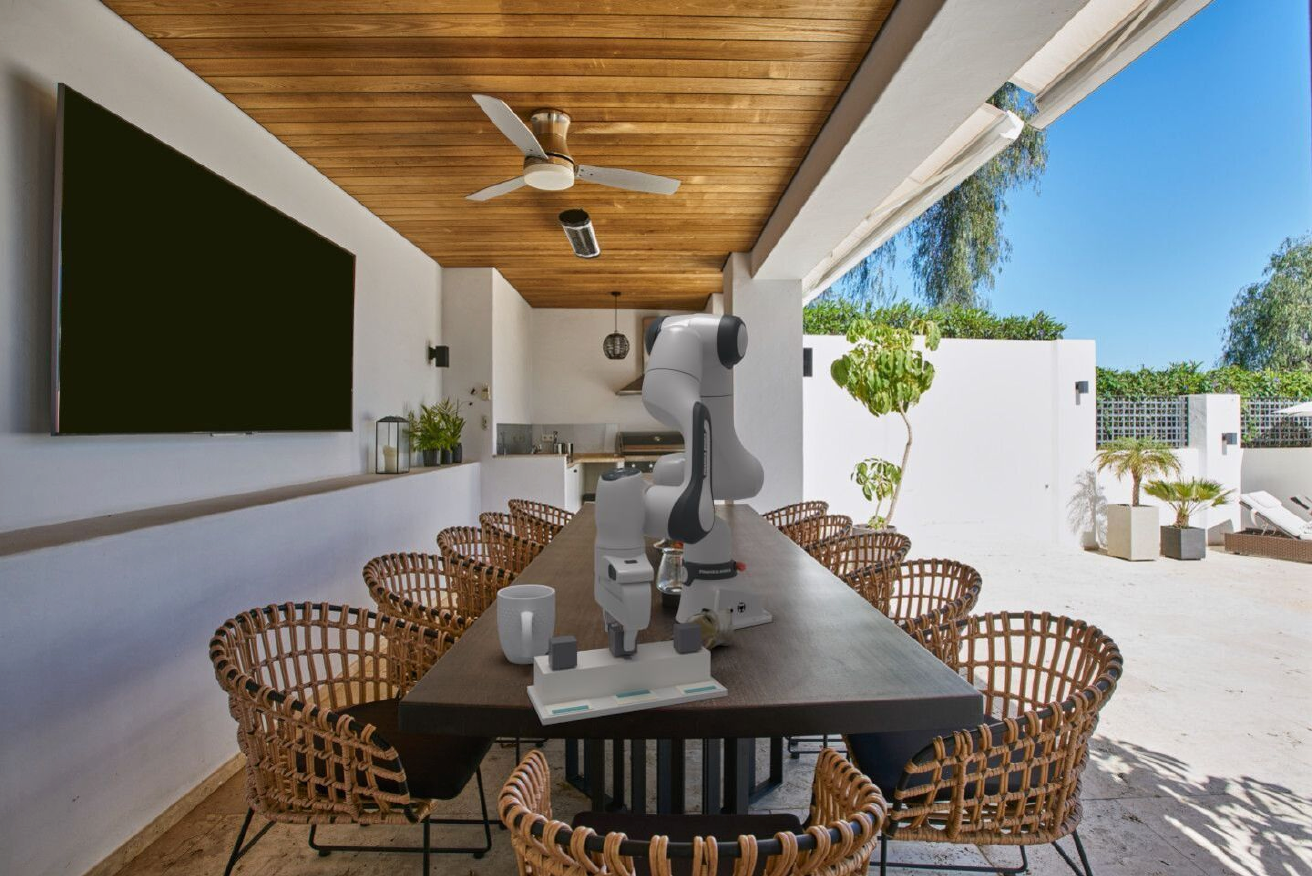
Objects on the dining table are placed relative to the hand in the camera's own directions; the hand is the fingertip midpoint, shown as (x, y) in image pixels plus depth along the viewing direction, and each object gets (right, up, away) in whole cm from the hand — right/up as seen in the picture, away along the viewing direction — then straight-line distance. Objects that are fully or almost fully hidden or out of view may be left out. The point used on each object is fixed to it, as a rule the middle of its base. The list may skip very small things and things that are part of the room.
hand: (619, 641), depth 113 cm
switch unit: (+2, -8, -4) cm, 9 cm away
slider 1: (-9, -1, -8) cm, 12 cm away
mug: (-18, -7, +11) cm, 23 cm away
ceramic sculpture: (+16, -8, +18) cm, 25 cm away
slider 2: (+12, -1, -1) cm, 12 cm away
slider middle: (+1, -1, -2) cm, 3 cm away
